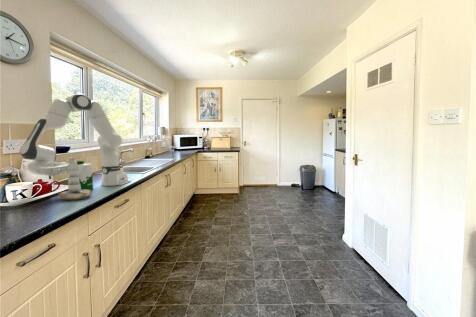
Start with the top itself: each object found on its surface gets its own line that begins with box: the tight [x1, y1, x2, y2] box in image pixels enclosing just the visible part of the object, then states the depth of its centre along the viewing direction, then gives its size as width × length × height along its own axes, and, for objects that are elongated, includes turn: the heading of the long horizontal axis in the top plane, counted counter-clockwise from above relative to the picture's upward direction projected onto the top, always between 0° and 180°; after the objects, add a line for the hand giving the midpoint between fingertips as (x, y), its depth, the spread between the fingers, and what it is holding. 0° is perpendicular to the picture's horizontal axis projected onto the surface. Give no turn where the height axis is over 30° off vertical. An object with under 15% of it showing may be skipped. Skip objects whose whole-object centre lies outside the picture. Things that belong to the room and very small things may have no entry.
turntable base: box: [62, 196, 88, 202], centre depth 152 cm, size 12×12×2 cm
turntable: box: [58, 189, 92, 200], centre depth 152 cm, size 16×16×2 cm
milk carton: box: [76, 160, 94, 191], centre depth 172 cm, size 9×9×20 cm
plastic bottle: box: [66, 158, 81, 193], centre depth 151 cm, size 6×7×20 cm
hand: (67, 169), depth 152 cm, fingers open, 8 cm apart
